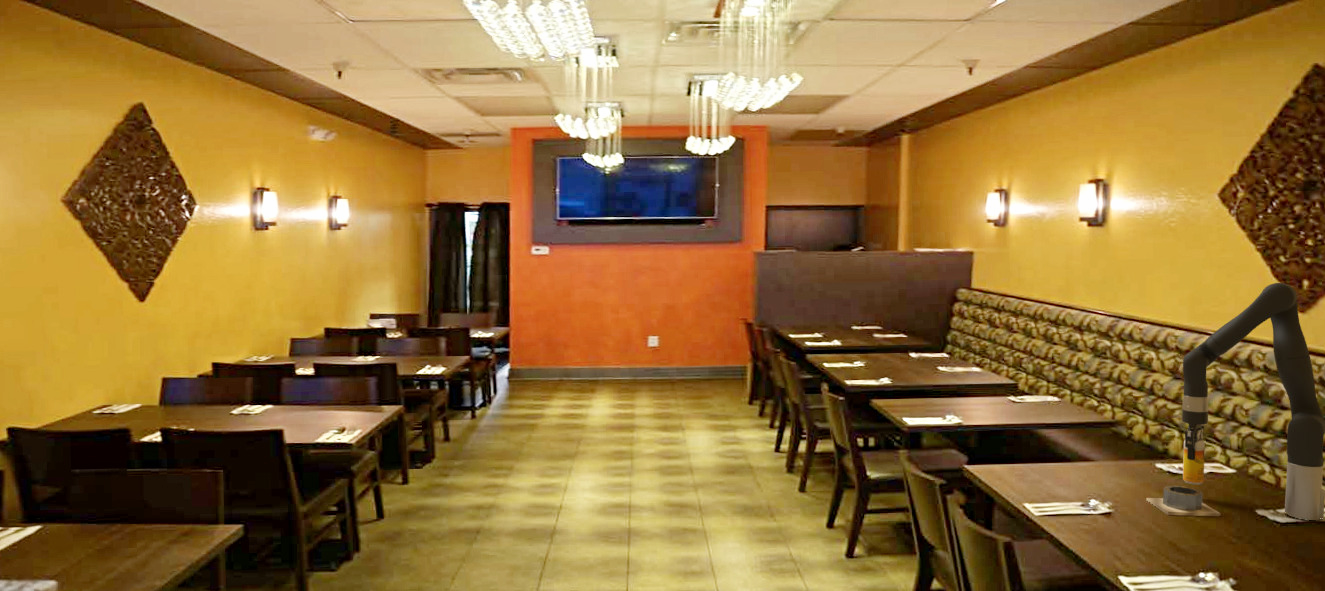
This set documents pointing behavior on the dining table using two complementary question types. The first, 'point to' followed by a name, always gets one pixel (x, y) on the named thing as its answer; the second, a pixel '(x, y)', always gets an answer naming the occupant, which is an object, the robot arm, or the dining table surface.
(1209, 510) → the birch board
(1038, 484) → the dining table surface
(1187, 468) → the beer can
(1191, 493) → the gray faceted bowl
